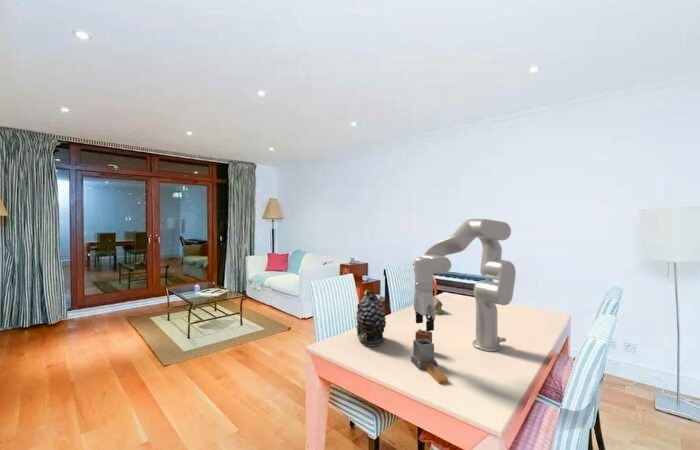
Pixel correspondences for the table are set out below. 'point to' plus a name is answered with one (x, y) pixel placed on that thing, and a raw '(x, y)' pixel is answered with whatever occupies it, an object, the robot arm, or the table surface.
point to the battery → (423, 335)
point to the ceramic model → (437, 306)
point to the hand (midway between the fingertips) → (424, 326)
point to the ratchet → (431, 369)
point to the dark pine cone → (370, 320)
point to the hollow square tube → (423, 350)
